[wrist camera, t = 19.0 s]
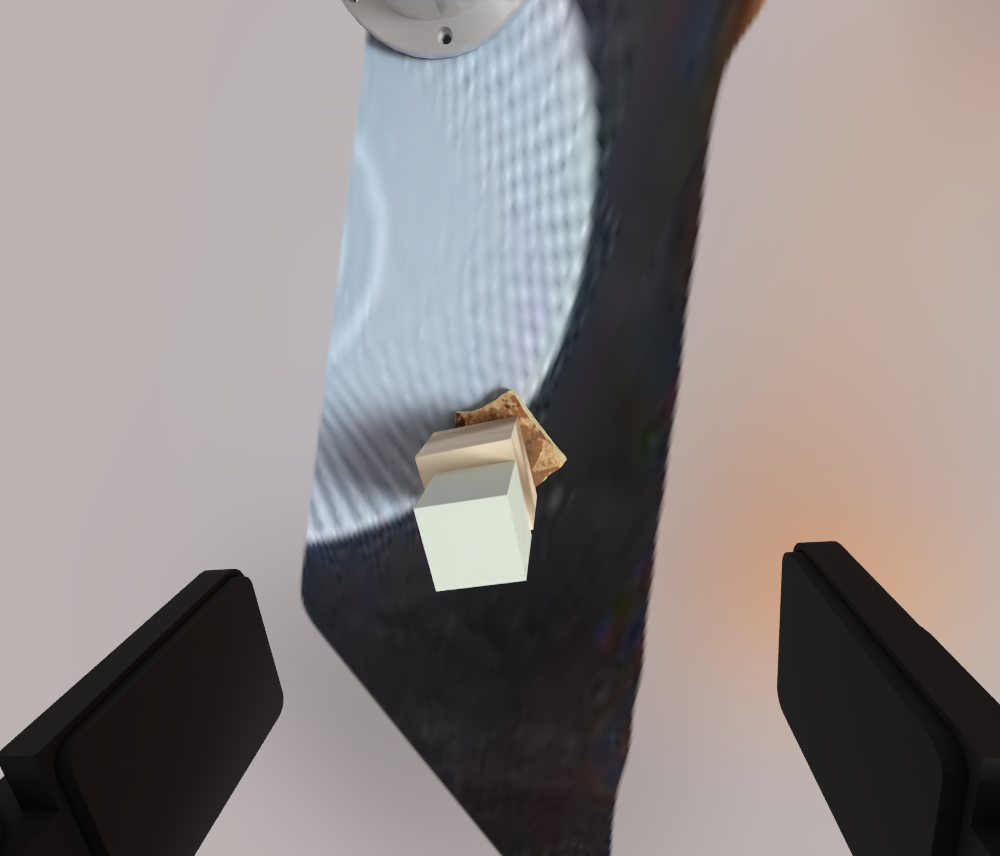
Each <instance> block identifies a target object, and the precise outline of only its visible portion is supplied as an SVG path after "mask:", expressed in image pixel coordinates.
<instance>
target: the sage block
mask: <svg viewBox="0 0 1000 856" xmlns="http://www.w3.org/2000/svg"><path fill="white" fill-rule="evenodd" d="M414 512H415V516H416V520H417V523H418V527H419V530H420V534H421V538H422V541H423V545H424V549H425V552H426V556H427V559H428V563H429V567H430V570H431V574H432V578H433V581H434V585H435V589H436V591H443V590H452V589H460V588H468V587H476V586H485V585H493V584H501V583H509V582H518V581H526V576H527V568H528V560H529V552H530V543H531V531H530V526H529V521H528V517H527V512H526V507H525V503H524V498H523V493H522V489H521V484H520V479H519V475H518V470H517V465H516V461H515V460H514V461H508V462H502V463H496V464H489V465H483V466H477V467H470V468H464V469H458V470H452V471H445V472H439V473H435V474H434V476H433V478H432V479H431V481H430V482H429V484H428V486H427V487H426V489H425V491H424V492H423V494H422V496H421V497H420V499H419V501H418V502H417V504H416V506H415V507H414Z"/></svg>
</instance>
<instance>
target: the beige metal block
mask: <svg viewBox="0 0 1000 856" xmlns="http://www.w3.org/2000/svg"><path fill="white" fill-rule="evenodd" d="M514 460H515V461H516V465H517V470H518V475H519V479H520V484H521V489H522V493H523V498H524V503H525V507H526V512H527V517H528V521H529V526H530V530H533V525H534V516H535V508H536V499H537V494H536V490H535V486H534V482H533V478H532V474H531V469H530V465H529V461H528V457H527V453H526V449H525V445H524V440H523V436H522V432H521V428H520V424H519V420H518V416H513V417H508V418H503V419H498V420H493V421H488V422H483V423H478V424H474V425H469V426H464V427H459V428H454V429H449V430H444V431H439V432H434V433H433V434H432V435H431V437H430V438H429V439H428V441H427V442H426V443H425V445H424V446H423V447H422V449H421V450H420V451H419V453H418V454H417V455H416V457H415V461H416V464H417V467H418V471H419V474H420V477H421V481H422V484H423V487H424V491H425V489H426V487H427V486H428V484H429V482H430V481H431V479H432V478H433V476H434V474H435V473H439V472H445V471H452V470H458V469H464V468H470V467H477V466H483V465H489V464H496V463H502V462H508V461H514Z"/></svg>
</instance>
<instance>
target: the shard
mask: <svg viewBox="0 0 1000 856" xmlns="http://www.w3.org/2000/svg"><path fill="white" fill-rule="evenodd" d="M513 416H518V420H519V424H520V428H521V432H522V436H523V440H524V445H525V449H526V453H527V457H528V461H529V465H530V469H531V474H532V478H533V482H534V486H535V487H536V486H537V485H539V484H540V483H541V482H543V481H544V480H546V478H547V476H548V475H549V474H550V473H552V472H554V471H556V470H557V469H559V468H560V467H562V465H563V464H564V462H565V461H566V460H567V459H566V456H565V455H564V454H563V453H562V452H561V451H560V450H559V449H558V448H557V446H556V445H555V444H554V443H553V441H552V440H551V439H550V437H549V436H548V435H547V434H546V432H545V431H544V429H543V428H542V427H541V426H540V425H539V424H538V422H537V421H536V420H535V418H534V417H533V415H532V414H531V412H530V411H529V410H528V408H527V407H526V406H525V405H524V404H523V402H522V401H521V400H520V398H519V396H518V394H517V393H515V392H514V391H513V390H509V391H507V392H506V393H504V394H502V395H501V396H500V397H498V398H497V399H496V400H494V401H492V402H490V403H489V404H487V405H486V406H484V407H482V408H480V409H477V410H474V411H456V412H455V428H459V427H464V426H469V425H474V424H478V423H483V422H488V421H493V420H498V419H503V418H508V417H513Z"/></svg>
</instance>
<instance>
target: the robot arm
mask: <svg viewBox="0 0 1000 856" xmlns="http://www.w3.org/2000/svg"><path fill="white" fill-rule="evenodd" d="M342 1H343V3H344V4H345V6H346V7H347V9H348V10H349V11H350V13H351V14H352V15H353V16H354V17H355V19H356V20H357V21H358V22H359V23H360V24H361V25H362V26H363V27H364V28H365V29H366V30H367V31H368V32H369V33H370V34H372V35H373V36H374V37H375V38H376V39H377V40H379V41H381V42H382V43H384V44H386V45H387V46H389V47H391V48H392V49H394V50H396V51H399V52H402V53H405V54H408V55H411V56H414V57H421V58H430V59H439V58H448V57H456V56H458V55H461V54H464V53H467V52H470V51H473V50H475V49H477V48H479V47H480V46H482V45H484V44H485V43H487V42H489V41H490V40H492V39H493V38H495V37H496V36H497V35H498V34H499V33H500V32H501V31H502V30H503V29H504V28H506V27H507V26H508V25H509V24H510V23H511V22H512V20H513V19H514V18H515V16H516V15H517V14H518V12H519V11H520V10H521V8H522V7H523V6H524V4H525V3H526V1H527V0H359V1H358V2H356V0H342ZM446 37H451V38H452V39H451V42H450V43H449V44H447V45H445V44H444V39H445V38H446ZM777 691H778V698H779V702H780V706H781V709H782V711H783V714H784V716H785V718H786V720H787V722H788V724H789V726H790V728H791V730H792V732H793V734H794V736H795V738H796V740H797V742H798V744H799V746H800V748H801V750H802V753H803V755H804V757H805V759H806V761H807V762H808V765H809V766H810V769H811V771H812V773H813V775H814V777H815V779H816V781H817V783H818V785H819V787H820V789H821V791H822V794H823V796H824V797H825V800H826V802H827V804H828V805H829V808H830V810H831V812H832V814H833V816H834V818H835V820H836V822H837V824H838V826H839V828H840V830H841V832H842V834H843V836H844V838H845V841H846V843H847V845H848V847H849V849H850V851H851V853H852V855H853V856H1000V704H999V703H998V702H997V701H996V700H995V699H994V698H993V697H992V696H991V695H990V694H989V693H988V692H987V691H986V690H985V689H984V688H983V687H982V686H981V685H980V684H979V683H978V682H977V681H976V680H975V679H974V678H973V677H972V676H971V675H970V674H969V673H968V672H967V671H966V670H965V669H964V668H963V667H962V666H961V665H960V664H959V662H958V661H957V660H955V658H954V657H953V656H952V655H951V654H950V653H949V652H948V651H947V650H946V649H945V648H944V647H943V646H942V645H941V644H940V643H939V642H938V641H937V640H936V639H935V638H934V637H933V636H932V635H931V634H930V633H929V632H927V631H926V630H925V629H924V628H922V627H921V626H919V624H917V623H916V622H915V620H914V619H913V618H912V617H911V616H910V615H909V614H908V613H907V612H906V611H905V610H904V609H903V608H902V607H901V606H900V605H899V604H898V603H897V602H896V601H895V600H894V599H893V598H892V597H891V596H890V595H889V594H888V593H887V592H886V591H885V590H884V588H883V587H882V586H881V585H880V584H879V583H877V581H876V580H875V579H874V578H873V577H872V576H871V575H870V574H869V573H868V572H867V571H866V570H865V569H864V568H863V567H862V566H861V565H860V564H859V563H858V562H857V561H856V560H855V559H854V558H853V557H852V556H851V555H850V554H849V553H848V551H847V550H846V549H845V548H844V547H843V546H842V545H841V544H839V543H838V542H836V541H835V542H834V541H827V542H806V543H797V544H796V545H795V547H794V550H793V552H786V553H785V554H784V556H783V560H782V580H781V604H780V630H779V654H778V678H777ZM282 707H283V692H282V688H281V685H280V681H279V677H278V674H277V671H276V667H275V663H274V659H273V656H272V652H271V649H270V645H269V642H268V638H267V635H266V631H265V627H264V624H263V621H262V617H261V613H260V610H259V606H258V603H257V599H256V595H255V592H254V588H253V585H252V582H251V580H250V579H249V578H248V577H245V576H244V575H243V574H242V572H241V571H240V570H237V569H225V570H208V571H204V572H202V573H201V574H199V575H198V576H197V577H196V578H195V579H194V580H193V581H192V582H190V583H189V584H188V585H187V586H186V587H185V588H184V589H182V590H181V591H180V592H179V593H178V594H177V595H176V596H174V597H173V598H172V599H171V600H170V601H169V602H168V603H167V604H166V605H164V606H163V607H162V608H161V609H160V610H159V611H158V612H157V613H155V614H154V615H153V616H152V617H151V618H150V619H149V620H147V621H146V622H145V623H144V624H143V625H142V626H141V627H140V628H139V629H137V630H136V631H135V632H134V633H133V634H132V635H130V636H129V637H128V638H127V639H126V640H125V641H124V642H123V643H121V644H120V645H119V646H118V647H117V648H116V649H115V650H114V651H113V652H111V653H110V654H109V655H108V656H107V657H106V658H105V659H103V660H102V661H101V662H100V663H99V664H98V665H97V666H95V667H94V668H93V669H92V670H91V671H90V672H89V673H88V674H87V675H85V676H84V677H83V678H82V679H81V680H80V681H79V682H77V683H76V684H75V685H74V686H73V687H72V688H71V689H69V691H67V692H66V693H65V694H64V695H63V696H62V697H60V698H59V699H58V700H57V701H56V702H55V703H54V704H53V705H51V706H50V707H49V708H48V709H47V710H46V711H45V712H43V713H42V714H41V715H40V716H39V717H38V718H37V719H36V720H34V721H33V722H32V723H31V724H30V725H29V726H28V727H27V728H25V729H24V730H23V731H22V732H21V733H20V734H19V735H17V736H16V737H15V738H14V739H13V740H12V741H11V742H10V743H8V744H7V745H6V746H5V747H4V748H3V749H2V750H1V751H0V767H1V769H2V771H3V773H4V775H5V776H4V777H3V778H2V779H0V856H194V855H195V854H196V852H197V850H198V849H199V847H200V845H201V844H202V842H203V841H204V839H205V837H206V836H207V834H208V832H209V831H210V829H211V827H212V826H213V824H214V822H215V821H216V819H217V818H218V816H219V814H220V813H221V811H222V809H223V807H224V806H225V804H226V803H227V801H228V799H229V798H230V796H231V794H232V793H233V791H234V790H235V788H236V786H237V785H238V783H239V781H240V780H241V778H242V777H243V775H244V773H245V771H246V770H247V768H248V767H249V765H250V763H251V762H252V760H253V758H254V757H255V755H256V754H257V752H258V750H259V749H260V747H261V745H262V744H263V742H264V740H265V739H266V737H267V735H268V733H269V732H270V730H271V729H272V727H273V726H274V724H275V722H276V721H277V719H278V717H279V715H280V713H281V710H282Z"/></svg>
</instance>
